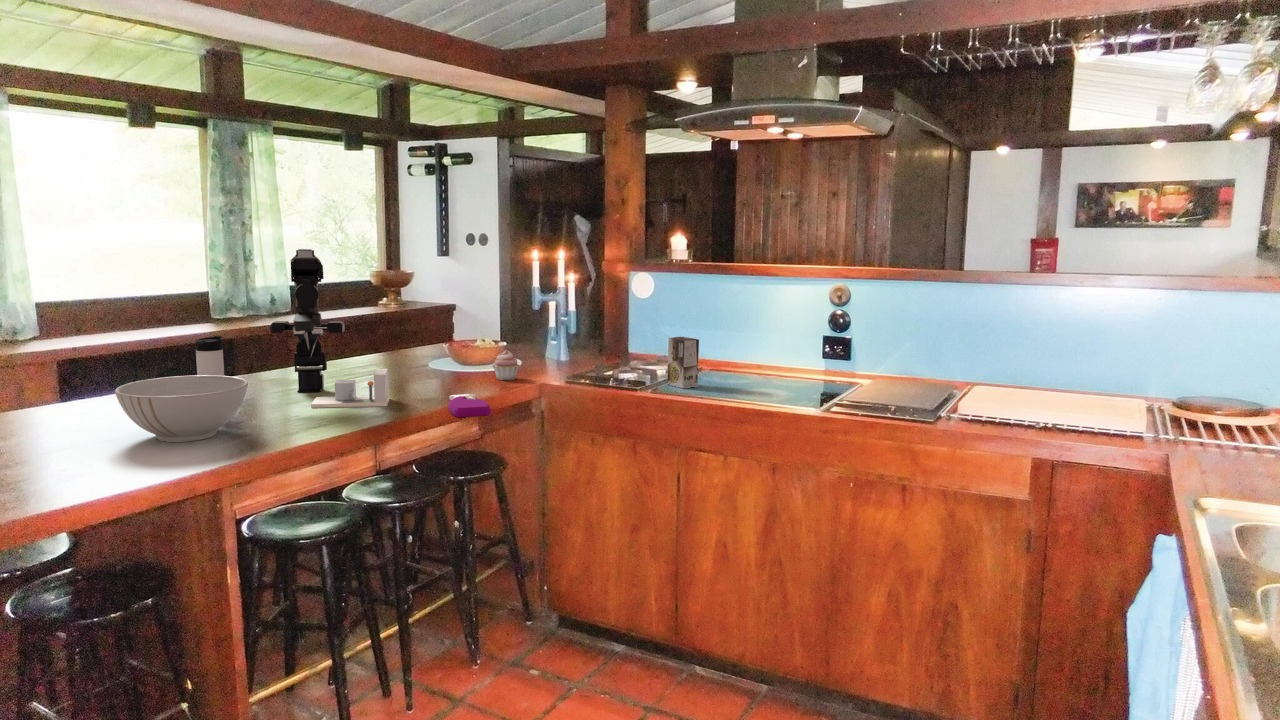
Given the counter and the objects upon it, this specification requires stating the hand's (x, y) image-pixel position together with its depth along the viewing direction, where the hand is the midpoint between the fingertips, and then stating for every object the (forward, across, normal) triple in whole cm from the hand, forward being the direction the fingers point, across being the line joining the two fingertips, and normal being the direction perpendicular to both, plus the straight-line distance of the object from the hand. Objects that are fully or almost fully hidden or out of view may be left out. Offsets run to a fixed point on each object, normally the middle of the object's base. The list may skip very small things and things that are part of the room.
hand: (309, 357), depth 223 cm
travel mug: (+13, -23, -8) cm, 28 cm away
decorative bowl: (+13, -22, -34) cm, 43 cm away
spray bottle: (+14, +43, -11) cm, 46 cm away
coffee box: (+13, +114, +15) cm, 116 cm away
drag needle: (+12, +17, -4) cm, 20 cm away
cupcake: (+13, +57, +33) cm, 67 cm away
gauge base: (+13, +12, -2) cm, 18 cm away
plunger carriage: (+12, +9, -2) cm, 15 cm away
